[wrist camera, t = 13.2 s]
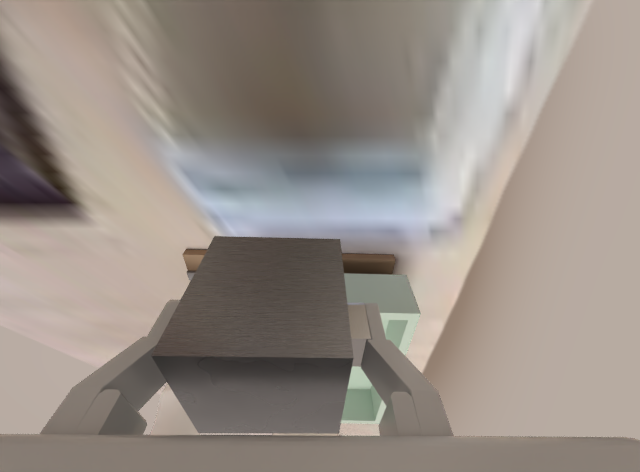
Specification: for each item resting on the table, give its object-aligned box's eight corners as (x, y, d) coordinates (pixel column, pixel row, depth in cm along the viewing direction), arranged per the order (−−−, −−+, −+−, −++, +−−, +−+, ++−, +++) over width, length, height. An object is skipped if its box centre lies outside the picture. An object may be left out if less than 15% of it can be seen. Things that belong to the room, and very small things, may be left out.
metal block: (214, 236, 11) (150, 356, 7) (339, 239, 11) (353, 358, 7) (233, 316, 14) (198, 432, 9) (332, 317, 14) (338, 433, 10)
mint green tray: (256, 262, 25) (241, 309, 20) (403, 266, 25) (420, 313, 20) (272, 374, 36) (264, 421, 31) (373, 377, 36) (380, 424, 31)
